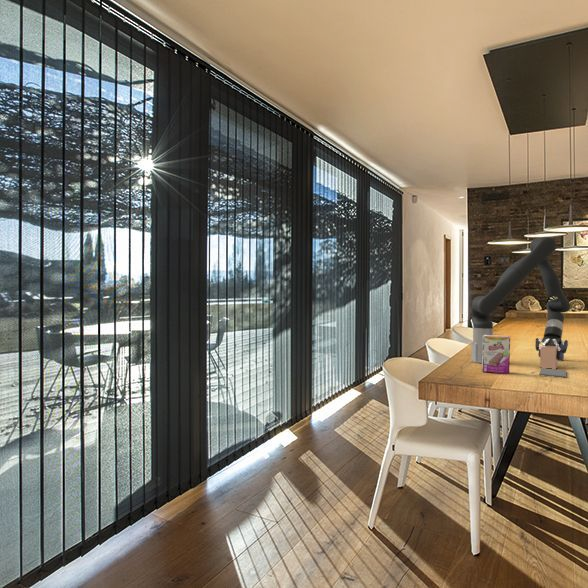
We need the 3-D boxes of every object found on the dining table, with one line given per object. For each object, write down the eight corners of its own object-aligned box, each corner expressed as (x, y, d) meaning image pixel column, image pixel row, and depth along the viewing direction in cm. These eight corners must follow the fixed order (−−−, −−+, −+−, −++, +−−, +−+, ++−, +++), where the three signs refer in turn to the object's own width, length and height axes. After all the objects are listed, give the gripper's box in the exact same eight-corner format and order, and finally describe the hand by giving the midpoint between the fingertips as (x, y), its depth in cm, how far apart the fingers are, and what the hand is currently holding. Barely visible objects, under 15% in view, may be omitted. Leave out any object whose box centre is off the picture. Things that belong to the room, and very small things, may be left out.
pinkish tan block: (540, 367, 225) (540, 346, 225) (542, 366, 230) (543, 345, 230) (555, 369, 221) (555, 347, 221) (557, 367, 226) (558, 346, 226)
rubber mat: (565, 378, 200) (565, 376, 200) (539, 375, 205) (539, 373, 205) (566, 372, 214) (566, 370, 214) (541, 370, 219) (541, 368, 219)
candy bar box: (482, 372, 212) (482, 335, 212) (481, 370, 217) (482, 334, 216) (509, 374, 208) (510, 336, 208) (508, 372, 213) (509, 335, 213)
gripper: (536, 324, 236) (531, 351, 227) (569, 326, 227) (565, 354, 218) (538, 334, 240) (533, 361, 231) (571, 336, 232) (567, 364, 222)
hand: (548, 357), depth 225 cm, fingers closed on pinkish tan block, 6 cm apart
